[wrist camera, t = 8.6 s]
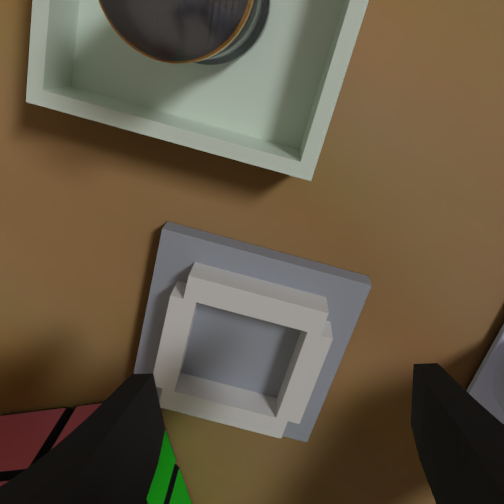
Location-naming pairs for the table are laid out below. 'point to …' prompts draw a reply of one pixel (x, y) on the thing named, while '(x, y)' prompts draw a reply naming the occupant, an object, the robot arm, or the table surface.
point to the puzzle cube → (55, 430)
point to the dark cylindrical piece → (189, 28)
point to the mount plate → (245, 331)
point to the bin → (202, 82)
